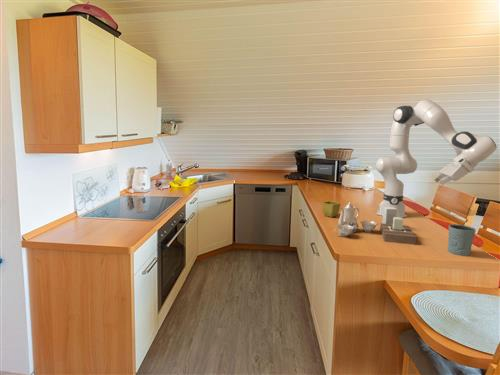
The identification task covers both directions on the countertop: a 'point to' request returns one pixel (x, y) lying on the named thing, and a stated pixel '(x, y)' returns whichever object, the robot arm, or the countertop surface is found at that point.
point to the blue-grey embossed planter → (460, 239)
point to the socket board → (397, 234)
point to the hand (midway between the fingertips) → (438, 182)
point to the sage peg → (397, 224)
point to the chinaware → (352, 222)
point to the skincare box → (389, 215)
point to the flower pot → (330, 208)
